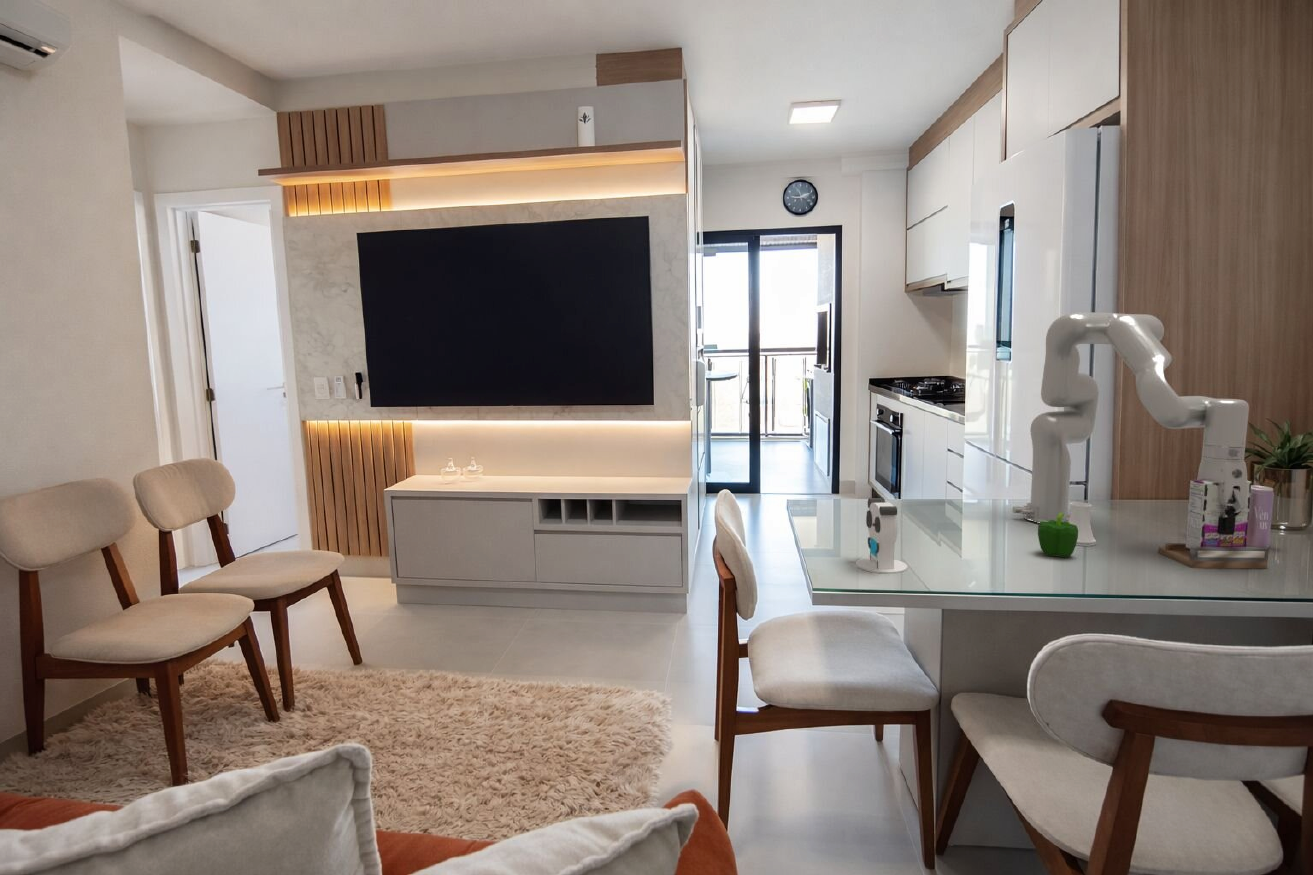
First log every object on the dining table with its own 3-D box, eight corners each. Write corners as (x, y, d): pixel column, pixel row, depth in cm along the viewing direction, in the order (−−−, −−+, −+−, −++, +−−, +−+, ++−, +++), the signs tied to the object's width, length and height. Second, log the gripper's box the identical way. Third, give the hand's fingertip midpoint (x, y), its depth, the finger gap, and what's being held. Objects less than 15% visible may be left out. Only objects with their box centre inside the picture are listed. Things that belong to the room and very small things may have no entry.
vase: (1093, 539, 182) (1095, 502, 181) (1097, 547, 175) (1100, 508, 174) (1060, 537, 185) (1062, 500, 184) (1063, 544, 178) (1065, 505, 177)
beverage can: (1261, 544, 176) (1267, 485, 174) (1273, 550, 170) (1279, 490, 168) (1232, 542, 178) (1238, 484, 176) (1243, 548, 172) (1249, 488, 170)
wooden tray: (1192, 567, 158) (1194, 548, 157) (1158, 552, 170) (1159, 534, 170) (1268, 568, 157) (1269, 549, 156) (1227, 553, 169) (1229, 534, 168)
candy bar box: (1227, 545, 165) (1233, 477, 163) (1246, 551, 160) (1253, 481, 158) (1182, 547, 164) (1189, 478, 162) (1200, 553, 159) (1207, 482, 157)
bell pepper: (1062, 561, 164) (1065, 520, 162) (1030, 553, 171) (1032, 513, 170) (1084, 556, 167) (1087, 515, 166) (1051, 548, 175) (1054, 509, 173)
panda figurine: (850, 557, 169) (851, 496, 167) (897, 557, 168) (899, 496, 167) (863, 573, 157) (864, 508, 155) (914, 573, 157) (916, 507, 155)
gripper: (1270, 459, 151) (1262, 541, 153) (1213, 447, 168) (1206, 521, 170) (1233, 459, 151) (1225, 540, 153) (1180, 447, 168) (1174, 521, 170)
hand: (1215, 529), depth 162 cm, fingers closed on candy bar box, 5 cm apart
